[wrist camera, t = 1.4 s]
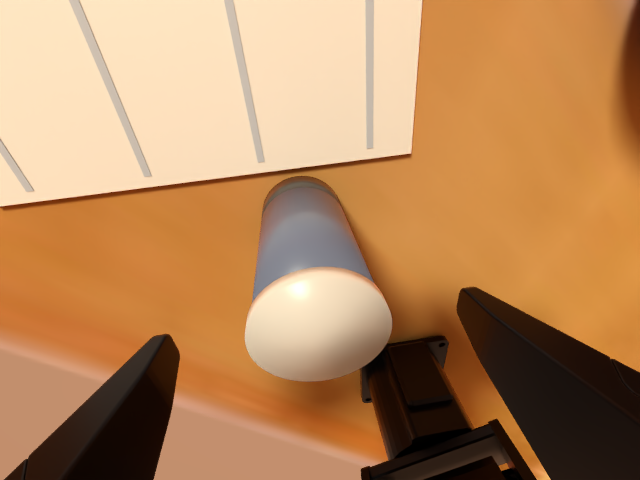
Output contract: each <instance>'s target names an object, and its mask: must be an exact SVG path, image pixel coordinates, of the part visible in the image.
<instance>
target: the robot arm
mask: <svg viewBox="0 0 640 480" xmlns="http://www.w3.org/2000/svg"><path fill="white" fill-rule="evenodd" d="M457 314H458V316H459V318H460V320H461V323H462V325H463V327H464V329H465V331H466V333H467V335H468V338H469V340H470V342H471V344H472V346H473V348H474V350H475V352H476V354H477V356H478V358H479V360H480V362H481V364H482V366H483V367H484V369H485V371H486V372H487V374H488V376H489V377H490V379H491V381H492V382H493V384H494V386H495V387H496V389H497V391H498V392H499V394H500V396H501V397H502V399H503V401H504V402H505V404H506V406H507V407H508V409H509V411H510V412H511V414H512V416H513V417H514V419H515V421H516V422H517V424H518V426H519V427H520V429H521V431H522V432H523V434H524V436H525V437H526V439H527V441H528V442H529V444H530V446H531V447H532V449H533V451H534V452H535V454H536V456H537V457H538V459H539V461H540V462H541V464H542V466H543V467H544V469H545V471H546V472H547V474H548V476H549V477H550V479H551V480H640V372H638V371H636V370H634V369H632V368H630V367H628V366H626V365H624V364H622V363H620V362H618V361H617V360H615V359H610V357H609V356H607V355H605V354H603V353H601V352H599V351H597V350H595V349H593V348H591V347H590V346H588V345H586V344H584V343H582V342H580V341H578V340H576V339H574V338H572V337H570V336H569V335H567V334H565V333H563V332H561V331H559V330H557V329H555V328H553V327H551V326H549V325H547V324H546V323H544V322H542V321H540V320H538V319H536V318H534V317H532V316H530V315H528V314H526V313H525V312H523V311H521V310H519V309H517V308H515V307H513V306H511V305H509V304H507V303H505V302H504V301H502V300H500V299H498V298H496V297H494V296H492V295H490V294H488V293H486V292H484V291H482V290H481V289H479V288H477V287H467V288H462V289H461V290H460V293H459V298H458V303H457ZM448 344H449V343H448V341H447V339H446V337H445V336H436V337H430V338H424V339H418V340H412V341H406V342H400V343H394V344H387V345H385V347H384V348H383V350H382V351H381V352H380V353H379V354H378V355H377V356H376V357H375V358H374V359H373V360H372V361H371V362H369V363H368V364H366V365H365V366H363V367H362V368H360V376H361V397H362V401H363V402H364V403H371V402H373V406H374V409H375V413H376V417H377V420H378V424H379V428H380V431H381V435H382V439H383V442H384V446H385V449H386V453H387V457H388V460H389V461H386V462H383V463H381V464H378V465H375V466H372V467H370V466H367V467H364V468H362V469H361V478H362V480H537V479H536V478H535V476H534V475H533V473H532V472H531V470H530V469H529V467H528V466H527V464H526V462H525V461H524V459H523V458H522V456H521V455H520V453H519V452H518V450H517V449H516V447H515V446H514V444H513V443H512V441H511V439H510V438H509V436H508V435H507V433H506V432H505V430H504V429H503V427H502V426H501V424H500V423H499V421H498V420H497V419H494V420H492V421H489V422H488V423H489V424H487V425H484V426H481V427H478V428H476V429H474V427H473V425H472V423H471V421H470V419H469V417H468V416H467V414H466V412H465V410H464V408H463V406H462V404H461V402H460V401H459V399H458V397H457V395H456V393H455V391H454V389H453V387H452V386H451V384H450V382H449V380H448V378H447V376H446V374H445V372H444V371H443V367H444V363H445V358H446V353H447V349H448ZM179 360H180V354H179V350H178V348H177V347H176V345H175V343H174V341H173V339H172V337H171V336H170V335H169V334H162V335H156V336H154V337H152V338H151V339H150V340H149V341H148V342H147V343H146V344H145V345H144V346H143V347H142V348H141V349H140V350H139V351H137V352H136V353H135V354H134V355H133V356H132V357H131V358H130V359H129V360H128V361H127V362H126V363H125V364H124V365H123V366H122V367H121V368H120V369H119V370H118V371H117V372H116V373H115V374H114V375H113V376H111V377H110V378H109V379H108V380H107V381H106V382H105V383H104V384H103V385H102V386H101V387H100V388H99V389H98V390H97V391H96V392H95V393H94V394H93V395H92V396H91V397H90V398H89V399H88V400H87V401H86V402H84V403H83V404H82V405H81V406H80V407H79V408H78V409H77V410H76V411H75V412H74V413H73V414H72V415H71V416H70V417H69V418H68V419H67V420H66V421H65V422H64V423H63V424H62V425H61V426H60V427H58V428H57V429H56V430H55V431H54V432H53V433H52V434H51V435H50V436H49V437H48V438H47V439H46V440H45V441H44V442H43V443H42V444H41V445H40V446H39V447H38V448H37V449H36V450H34V451H33V452H32V453H31V455H30V456H29V458H28V459H25V460H24V461H23V462H22V463H21V464H20V465H19V466H18V467H17V468H16V469H15V470H14V471H13V472H12V473H11V474H9V475H8V476H7V477H6V478H5V479H4V480H153V479H154V476H155V472H156V468H157V464H158V460H159V457H160V452H161V449H162V445H163V442H164V437H165V434H166V430H167V426H168V422H169V418H170V414H171V410H172V405H173V399H174V393H175V386H176V380H177V373H178V367H179ZM505 463H507V464H508V466H509V468H510V469H507V470H504V471H501V470H500V468H499V467H498V466H499V465H502V464H505Z"/></svg>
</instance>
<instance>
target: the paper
mask: <svg viewBox="0 0 640 480" xmlns="http://www.w3.org/2000/svg"><path fill="white" fill-rule="evenodd" d="M421 12H422V0H0V206H8V205H15V204H23V203H31V202H39V201H46V200H54V199H62V198H70V197H77V196H85V195H93V194H101V193H108V192H116V191H124V190H132V189H139V188H147V187H155V186H163V185H170V184H178V183H186V182H194V181H201V180H209V179H217V178H225V177H232V176H240V175H248V174H256V173H263V172H271V171H279V170H287V169H294V168H302V167H310V166H318V165H325V164H333V163H341V162H349V161H356V160H364V159H372V158H380V157H387V156H395V155H403V154H411V150H412V136H413V122H414V108H415V95H416V81H417V67H418V53H419V40H420V26H421Z"/></svg>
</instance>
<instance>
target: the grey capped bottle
mask: <svg viewBox="0 0 640 480" xmlns="http://www.w3.org/2000/svg"><path fill="white" fill-rule="evenodd" d="M391 331H392V316H391V312H390V310H389V308H388V305H387V303H386V301H385V299H384V296H383V294H382V292H381V291H380V290H379V288H378V287H377V286H376V285H375V284H374V282H373V279H372V277H371V275H370V272H369V270H368V268H367V265H366V263H365V261H364V258H363V256H362V254H361V251H360V249H359V247H358V244H357V242H356V240H355V237H354V235H353V233H352V230H351V228H350V226H349V223H348V221H347V219H346V216H345V214H344V212H343V209H342V207H341V205H340V202H339V200H338V198H337V196H336V194H335V192H334V191H333V190H332V188H331V187H330V186H328V185H327V184H326V183H324V182H323V181H321V180H319V179H316V178H313V177H309V176H296V177H291V178H288V179H285V180H283V181H281V182H280V183H278V184H277V185H276V186H275V187H273V188H272V190H271V191H270V192H269V193H268V195H267V197H266V199H265V201H264V205H263V212H262V221H261V230H260V238H259V247H258V256H257V265H256V274H255V283H254V291H253V300H252V305H251V306H250V309H249V312H248V315H247V321H246V329H245V344H246V348H247V350H248V353H249V355H250V356H251V358H252V359H253V360H254V361H255V362H256V364H257V365H258V366H260V367H261V368H262V369H264V370H265V371H267V372H269V373H271V374H273V375H275V376H278V377H281V378H284V379H288V380H293V381H303V382H314V381H324V380H330V379H335V378H338V377H342V376H345V375H347V374H350V373H352V372H354V371H356V370H358V369H360V368H362V367H363V366H365V365H366V364H368V363H369V362H371V361H372V360H373V359H374V358H375V357H376V356H377V355H378V354H379V353H380V352H381V351H382V350H383V348H384V347H385V345H386V344H387V342H388V340H389V337H390V334H391Z"/></svg>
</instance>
